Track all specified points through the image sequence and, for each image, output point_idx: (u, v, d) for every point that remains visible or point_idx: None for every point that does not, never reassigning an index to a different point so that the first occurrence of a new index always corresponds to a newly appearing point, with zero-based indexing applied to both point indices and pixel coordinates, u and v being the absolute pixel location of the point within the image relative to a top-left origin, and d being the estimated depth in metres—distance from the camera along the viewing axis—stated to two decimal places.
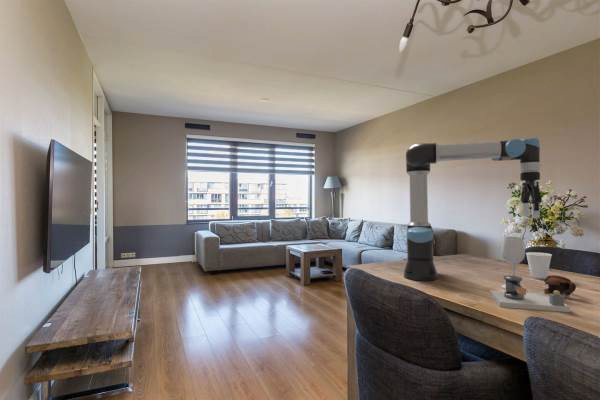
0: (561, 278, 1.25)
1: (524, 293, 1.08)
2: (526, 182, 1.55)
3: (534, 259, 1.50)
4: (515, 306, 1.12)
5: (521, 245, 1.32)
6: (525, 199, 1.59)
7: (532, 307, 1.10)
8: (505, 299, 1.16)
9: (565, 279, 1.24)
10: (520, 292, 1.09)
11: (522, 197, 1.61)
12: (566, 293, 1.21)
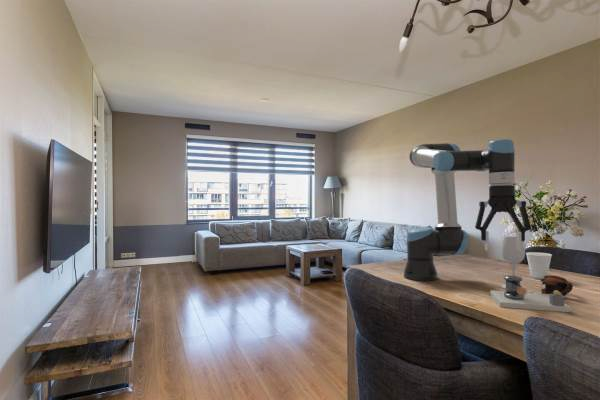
0: (558, 278, 1.25)
1: (524, 293, 1.08)
2: None
3: (534, 259, 1.50)
4: (515, 306, 1.12)
5: None
6: (516, 225, 1.12)
7: (532, 307, 1.10)
8: (505, 299, 1.16)
9: (562, 279, 1.25)
10: (520, 292, 1.09)
11: (523, 222, 1.11)
12: (563, 293, 1.22)
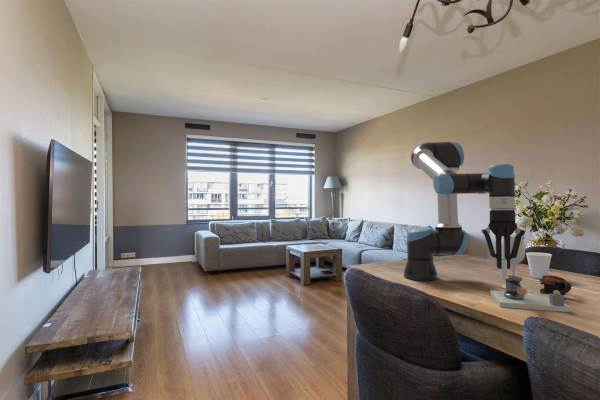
0: (556, 278, 1.25)
1: (524, 293, 1.08)
2: None
3: (534, 259, 1.50)
4: (515, 306, 1.12)
5: (521, 245, 1.32)
6: (505, 251, 1.12)
7: (532, 307, 1.10)
8: (505, 299, 1.16)
9: (560, 279, 1.25)
10: (520, 292, 1.09)
11: (512, 249, 1.12)
12: (561, 293, 1.22)
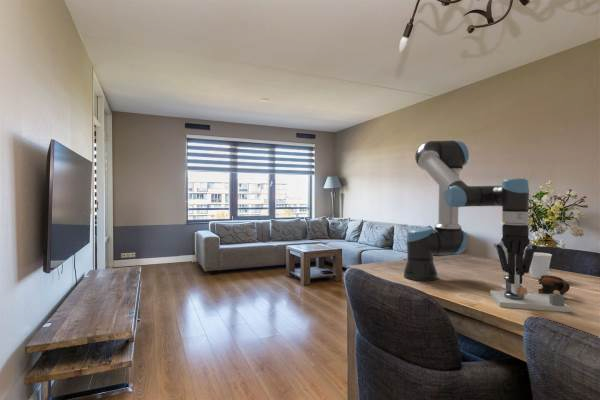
0: (555, 278, 1.25)
1: (525, 293, 1.08)
2: None
3: (534, 259, 1.50)
4: (515, 306, 1.12)
5: None
6: (517, 266, 1.12)
7: (532, 307, 1.10)
8: (505, 299, 1.16)
9: (559, 279, 1.25)
10: (521, 292, 1.09)
11: (523, 264, 1.12)
12: (560, 293, 1.22)
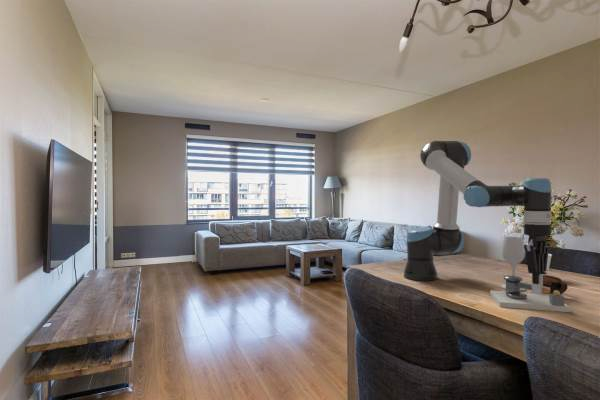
0: (553, 278, 1.25)
1: (549, 291, 1.10)
2: None
3: None
4: (515, 306, 1.12)
5: (521, 245, 1.32)
6: None
7: (532, 307, 1.10)
8: (505, 299, 1.16)
9: (557, 279, 1.25)
10: (547, 291, 1.09)
11: None
12: None
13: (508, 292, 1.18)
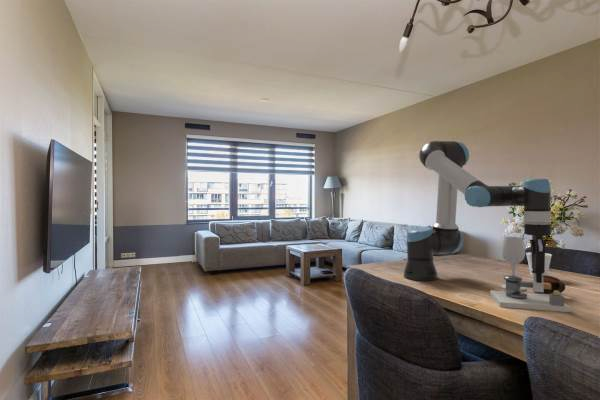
0: (551, 278, 1.25)
1: None
2: None
3: None
4: (515, 306, 1.12)
5: (521, 245, 1.32)
6: None
7: (532, 307, 1.10)
8: (505, 299, 1.16)
9: (554, 279, 1.25)
10: None
11: (533, 261, 1.17)
12: None
13: (512, 293, 1.17)
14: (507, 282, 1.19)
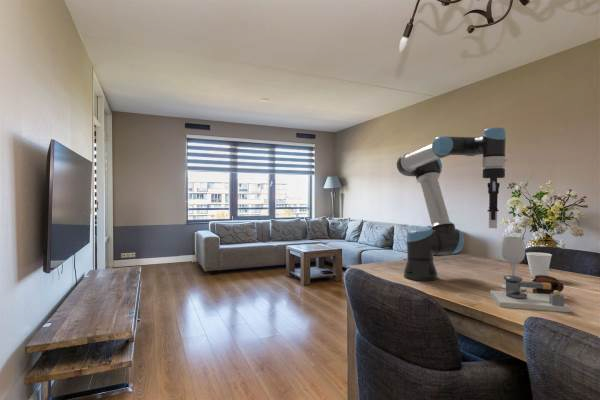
0: (549, 278, 1.25)
1: None
2: None
3: (534, 259, 1.50)
4: (515, 306, 1.12)
5: (521, 245, 1.32)
6: None
7: (532, 307, 1.10)
8: (505, 299, 1.16)
9: (553, 279, 1.25)
10: None
11: (490, 202, 1.32)
12: None
13: (512, 293, 1.17)
14: (507, 282, 1.19)
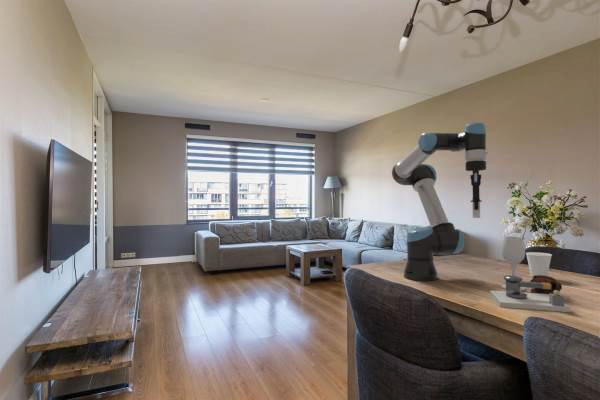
0: (547, 278, 1.26)
1: None
2: None
3: (534, 259, 1.50)
4: (515, 306, 1.12)
5: (521, 245, 1.32)
6: None
7: (532, 307, 1.10)
8: (505, 299, 1.16)
9: (551, 279, 1.25)
10: None
11: None
12: (552, 293, 1.22)
13: (512, 293, 1.17)
14: (507, 282, 1.19)
